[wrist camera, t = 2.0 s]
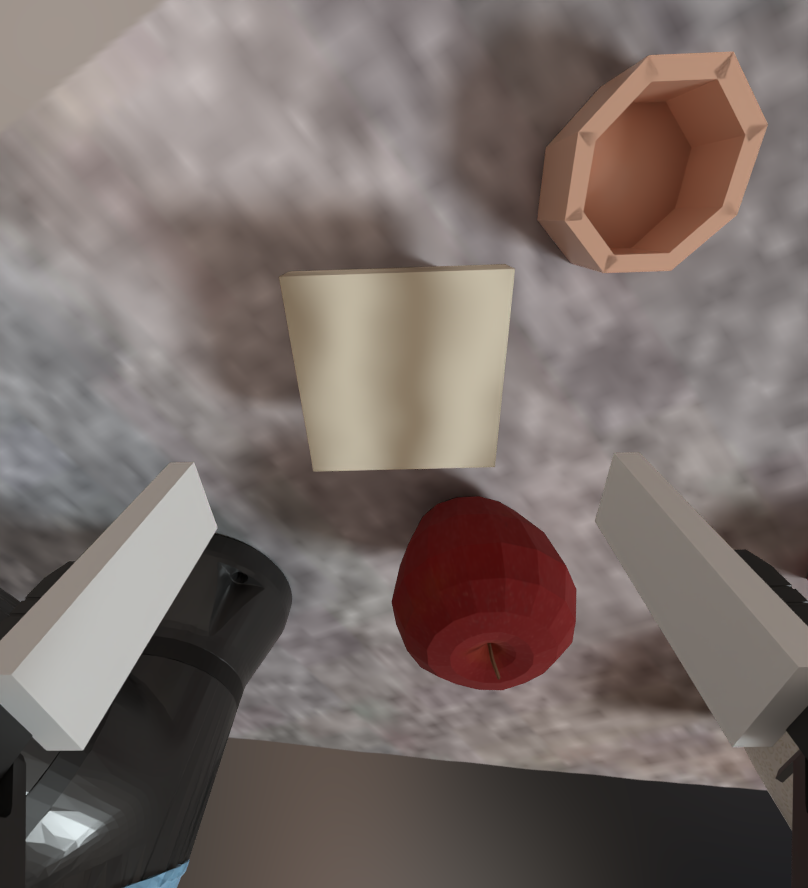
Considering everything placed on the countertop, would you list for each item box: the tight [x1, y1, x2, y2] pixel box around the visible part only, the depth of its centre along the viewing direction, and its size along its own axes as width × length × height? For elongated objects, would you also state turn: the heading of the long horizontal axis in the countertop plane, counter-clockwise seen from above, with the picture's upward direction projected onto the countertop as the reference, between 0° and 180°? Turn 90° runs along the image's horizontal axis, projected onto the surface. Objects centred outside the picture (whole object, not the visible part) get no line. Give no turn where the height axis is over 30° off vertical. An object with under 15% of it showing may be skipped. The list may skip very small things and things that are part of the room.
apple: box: [392, 496, 576, 690], centre depth 28 cm, size 12×12×13 cm
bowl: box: [537, 52, 768, 273], centre depth 20 cm, size 8×8×4 cm
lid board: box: [279, 264, 515, 472], centre depth 22 cm, size 11×11×2 cm
